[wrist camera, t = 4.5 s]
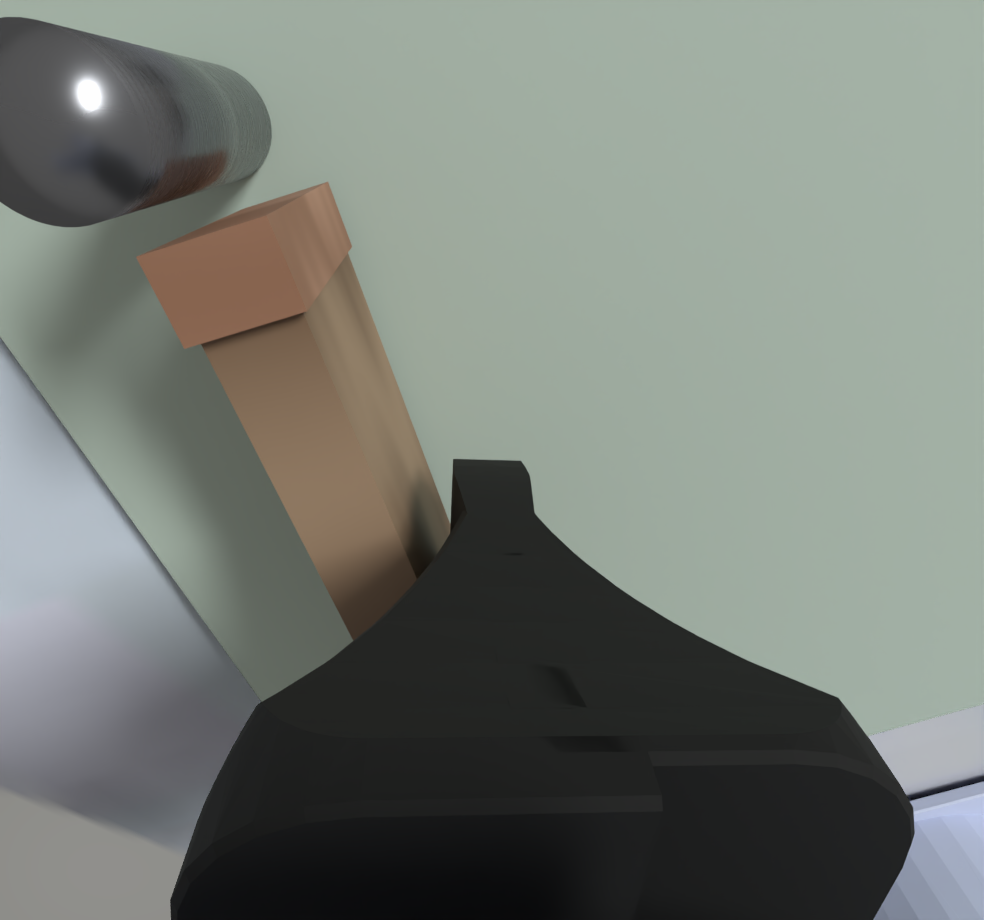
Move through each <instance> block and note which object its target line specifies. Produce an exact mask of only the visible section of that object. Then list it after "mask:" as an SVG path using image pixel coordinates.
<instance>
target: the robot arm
mask: <svg viewBox="0 0 984 920" xmlns="http://www.w3.org/2000/svg"><path fill="white" fill-rule="evenodd" d="M170 901H171V902H170V903H171V920H984V781H983V782H979V783H975V784H971V785H968V786H964V787H960V788H956V789H953V790H949V791H945V792H941V793H937V794H934V795H930V796H926V797H922V798H919V799H915V800H911V801H909V799H908V798H907V796H906V794H905V792H904V791H903V789H902V787H901V786H900V784H899V782H898V781H897V779H896V778H895V776H894V775H893V773H892V772H891V770H890V769H889V767H888V766H887V764H886V763H885V762H884V760H883V759H882V757H881V756H880V754H879V753H878V751H877V750H876V748H875V747H874V745H873V744H872V742H871V741H870V739H869V738H868V736H867V735H866V734H865V732H864V731H863V730H862V728H861V727H860V725H859V724H858V723H857V721H856V720H855V719H854V717H853V716H852V714H851V713H850V712H849V711H848V709H847V708H846V707H845V706H844V704H843V703H842V702H841V701H840V699H839V698H838V697H835V696H833V695H830V694H828V693H826V692H823V691H821V690H818V689H816V688H813V687H811V686H808V685H806V684H804V683H801V682H799V681H796V680H794V679H791V678H789V677H786V676H784V675H781V674H779V673H777V672H774V671H772V670H769V669H767V668H764V667H762V666H759V665H757V664H755V663H752V662H750V661H748V660H746V659H744V658H741V657H739V656H737V655H735V654H733V653H731V652H729V651H727V650H725V649H723V648H721V647H719V646H717V645H715V644H713V643H711V642H709V641H707V640H705V639H703V638H701V637H699V636H697V635H695V634H694V633H692V632H690V631H688V630H686V629H684V628H683V627H681V626H679V625H677V624H675V623H673V622H672V621H670V620H668V619H667V618H665V617H663V616H662V615H660V614H659V613H657V612H655V611H654V610H652V609H651V608H649V607H647V606H646V605H644V604H642V603H641V602H639V601H638V600H636V599H634V598H633V597H631V596H630V595H629V594H627V593H626V592H624V591H623V590H621V589H620V588H618V587H617V586H615V585H614V584H613V583H612V582H610V581H609V580H608V579H606V578H605V577H604V576H602V575H601V574H600V573H598V572H597V571H596V570H595V569H593V568H592V567H591V566H589V565H588V564H587V563H586V562H584V561H583V560H582V559H581V558H580V557H578V556H577V555H576V554H575V553H574V552H573V551H571V550H570V549H569V548H568V547H567V546H566V545H565V544H564V543H563V542H562V541H561V540H560V539H559V538H558V537H557V536H556V535H554V534H553V533H552V532H551V531H550V530H549V528H548V527H547V526H546V525H545V524H544V523H543V522H542V521H541V520H540V519H539V518H538V516H537V515H536V514H535V512H534V504H533V495H532V487H531V480H530V475H529V473H528V471H527V469H526V467H525V466H524V464H523V463H522V461H515V460H477V459H453V474H452V498H451V523H450V534H449V536H448V538H447V539H446V541H445V543H444V544H443V546H442V547H441V549H440V550H439V552H438V553H437V555H436V556H435V557H434V559H433V560H432V562H431V563H430V564H429V565H428V567H427V568H426V569H425V571H424V572H423V573H422V574H421V575H420V577H419V578H418V579H417V580H416V581H415V583H414V584H413V585H412V586H411V587H410V588H409V589H408V590H407V591H406V592H405V594H404V595H403V596H402V597H401V598H400V599H399V600H398V601H397V602H396V603H395V604H394V605H393V606H392V607H391V608H390V609H389V610H388V611H387V612H386V613H385V614H384V615H383V616H382V617H381V618H380V619H379V620H378V621H376V622H375V623H374V624H373V625H372V626H371V627H370V628H368V629H367V630H366V631H365V632H363V633H362V634H361V635H360V636H358V637H357V638H356V639H355V640H354V641H352V642H351V643H350V644H349V645H347V646H346V647H345V648H344V649H343V650H341V651H340V652H339V653H338V654H336V655H335V656H334V657H332V658H331V659H330V660H328V661H327V662H326V663H324V664H323V665H321V666H319V667H318V668H316V669H315V670H313V671H311V672H310V673H308V674H307V675H305V676H303V677H302V678H300V679H299V680H297V681H295V682H294V683H292V684H291V685H289V686H287V687H286V688H284V689H283V690H281V691H280V692H278V693H276V694H275V695H273V696H271V697H269V698H267V699H266V700H264V701H262V702H261V703H260V704H258V705H257V706H256V708H255V710H254V711H253V713H252V714H251V716H250V718H249V719H248V721H247V723H246V724H245V726H244V728H243V730H242V731H241V733H240V735H239V737H238V738H237V740H236V742H235V744H234V745H233V747H232V749H231V751H230V753H229V755H228V757H227V759H226V761H225V763H224V765H223V767H222V768H221V770H220V772H219V774H218V777H217V779H216V780H215V782H214V784H213V787H212V789H211V791H210V793H209V795H208V797H207V799H206V801H205V803H204V806H203V808H202V811H201V814H200V816H199V819H198V821H197V824H196V827H195V830H194V833H193V836H192V839H191V841H190V844H189V847H188V850H187V853H186V856H185V859H184V862H183V865H182V868H181V871H180V874H179V876H178V879H177V882H176V885H175V888H174V891H173V894H172V897H171V900H170Z"/></svg>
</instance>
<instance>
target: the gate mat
mask: <svg viewBox="0 0 984 920" xmlns="http://www.w3.org/2000/svg"><path fill="white" fill-rule="evenodd" d="M3 17H23V18H29V19H35V20H39V21H43V22H47V23H52V24H56V25H60V26H64V27H68V28H72V29H76V30H80V31H84V32H88V33H92V34H96V35H100V36H104V37H108V38H112V39H116V40H120V41H124V42H128V43H132V44H136V45H140V46H145V47H149V48H153V49H157V50H161V51H165V52H169V53H173V54H177V55H181V56H185V57H189V58H193V59H197V60H201V61H205V62H209V63H213V64H217V65H221V66H224V67H227V68H229V69H231V70H233V71H235V72H237V73H238V74H240V75H241V76H243V77H244V78H245V79H246V80H247V81H248V82H249V83H250V84H252V86H253V87H254V88H255V89H256V90H257V92H258V93H259V95H260V96H261V98H262V99H263V101H264V103H265V105H266V108H267V111H268V113H269V117H270V121H271V128H272V139H271V146H270V150H269V153H268V155H267V158H266V159H265V161H264V163H263V164H262V166H261V167H260V168H259V169H258V170H257V171H256V172H255V173H253V174H252V175H251V176H249V177H247V178H245V179H242V180H239V181H236V182H232V183H229V184H226V185H223V186H219V187H216V188H213V189H209V190H206V191H203V192H199V193H196V194H193V195H189V196H186V197H183V198H179V199H176V200H173V201H169V202H166V203H163V204H159V205H156V206H153V207H149V208H146V209H143V210H139V211H136V212H133V213H129V214H126V215H123V216H120V217H116V218H113V219H110V220H106V221H103V222H100V223H96V224H93V225H90V226H83V227H58V226H52V225H48V224H44V223H40V222H37V221H34V220H32V219H29V218H27V217H25V216H23V215H21V214H19V213H17V212H15V211H13V210H12V209H10V208H8V207H7V206H5V205H4V204H2V203H1V202H0V337H1V339H2V340H3V341H4V343H5V344H6V346H7V347H8V348H9V350H10V351H11V353H12V354H13V355H14V357H15V358H16V360H17V361H18V362H19V364H20V365H21V366H22V368H23V369H24V371H25V372H26V373H27V375H28V376H29V378H30V379H31V380H32V382H33V383H34V385H35V386H36V387H37V389H38V390H39V392H40V393H41V394H42V396H43V397H44V399H45V400H46V401H47V403H48V404H49V406H50V407H51V408H52V410H53V411H54V413H55V414H56V415H57V417H58V418H59V420H60V421H61V422H62V424H63V425H64V427H65V428H66V429H67V431H68V432H69V434H70V435H71V436H72V438H73V439H74V441H75V442H76V443H77V445H78V446H79V448H80V449H81V450H82V452H83V453H84V454H85V456H86V457H87V459H88V460H89V461H90V463H91V464H92V466H93V467H94V468H95V470H96V471H97V473H98V474H99V475H100V477H101V478H102V480H103V481H104V482H105V484H106V485H107V487H108V488H109V489H110V491H111V492H112V494H113V495H114V496H115V498H116V499H117V501H118V502H119V503H120V505H121V506H122V508H123V509H124V510H125V512H126V513H127V515H128V516H129V517H130V519H131V520H132V522H133V523H134V524H135V526H136V527H137V529H138V530H139V531H140V533H141V534H142V536H143V537H144V538H145V540H146V541H147V543H148V544H149V545H150V547H151V548H152V549H153V551H154V552H155V554H156V555H157V556H158V558H159V559H160V561H161V562H162V563H163V565H164V566H165V568H166V569H167V570H168V572H169V573H170V575H171V576H172V577H173V579H174V580H175V582H176V583H177V584H178V586H179V587H180V589H181V590H182V591H183V593H184V594H185V596H186V597H187V598H188V600H189V601H190V603H191V604H192V605H193V607H194V608H195V610H196V611H197V612H198V614H199V615H200V617H201V618H202V619H203V621H204V622H205V624H206V625H207V626H208V628H209V629H210V631H211V632H212V633H213V635H214V636H215V637H216V639H217V640H218V642H219V643H220V644H221V646H222V647H223V649H224V650H225V651H226V653H227V654H228V656H229V657H230V658H231V660H232V661H233V663H234V664H235V665H236V667H237V668H238V670H239V671H240V672H241V674H242V675H243V677H244V678H245V679H246V681H247V682H248V684H249V685H250V686H251V688H252V689H253V691H254V692H255V693H256V695H257V696H258V698H259V699H260V700H261V702H262V701H264V700H266V699H267V698H269V697H271V696H273V695H275V694H276V693H278V692H280V691H281V690H283V689H284V688H286V687H287V686H289V685H291V684H292V683H294V682H295V681H297V680H299V679H300V678H302V677H303V676H305V675H307V674H308V673H310V672H311V671H313V670H315V669H316V668H318V667H319V666H321V665H323V664H324V663H326V662H327V661H328V660H330V659H331V658H332V657H334V656H335V655H336V654H338V653H339V652H340V651H341V650H343V649H344V648H345V647H346V646H347V645H349V644H350V643H351V642H352V641H353V639H352V637H351V635H350V633H349V632H348V630H347V628H346V626H345V624H344V622H343V620H342V618H341V616H340V614H339V612H338V610H337V608H336V606H335V604H334V602H333V600H332V598H331V597H330V595H329V593H328V591H327V589H326V587H325V585H324V583H323V581H322V579H321V577H320V575H319V573H318V571H317V569H316V567H315V565H314V563H313V561H312V560H311V558H310V556H309V554H308V552H307V550H306V548H305V546H304V544H303V542H302V540H301V538H300V536H299V534H298V532H297V530H296V528H295V526H294V524H293V523H292V521H291V519H290V517H289V515H288V513H287V511H286V509H285V507H284V505H283V503H282V501H281V499H280V497H279V495H278V493H277V491H276V489H275V487H274V486H273V484H272V482H271V480H270V478H269V476H268V474H267V472H266V470H265V468H264V466H263V464H262V462H261V460H260V458H259V456H258V454H257V452H256V450H255V449H254V447H253V445H252V443H251V441H250V439H249V437H248V435H247V433H246V431H245V429H244V427H243V425H242V423H241V421H240V419H239V417H238V415H237V413H236V412H235V410H234V408H233V406H232V404H231V402H230V400H229V398H228V396H227V394H226V392H225V390H224V388H223V386H222V384H221V382H220V380H219V378H218V377H217V375H216V373H215V371H214V369H213V367H212V365H211V363H210V361H209V359H208V357H207V355H206V353H205V351H204V349H203V347H202V345H201V344H199V345H196V346H192V347H189V348H186V349H184V347H183V345H182V343H181V342H180V340H179V338H178V336H177V334H176V332H175V330H174V328H173V326H172V325H171V323H170V321H169V319H168V317H167V315H166V313H165V311H164V309H163V307H162V306H161V304H160V302H159V300H158V298H157V296H156V294H155V292H154V290H153V289H152V287H151V285H150V283H149V281H148V279H147V277H146V275H145V273H144V271H143V270H142V268H141V266H140V264H139V262H138V260H137V258H136V257H137V256H139V255H141V254H144V253H146V252H148V251H150V250H152V249H155V248H157V247H159V246H161V245H164V244H166V243H168V242H170V241H172V240H175V239H177V238H179V237H181V236H184V235H186V234H188V233H190V232H192V231H195V230H197V229H199V228H201V227H204V226H206V225H208V224H210V223H212V222H215V221H217V220H219V219H221V218H224V217H226V216H228V215H230V214H233V213H235V212H237V211H239V210H241V209H244V208H247V207H250V206H253V205H257V204H260V203H263V202H266V201H269V200H272V199H275V198H278V197H282V196H285V195H288V194H291V193H294V192H297V191H300V190H303V189H307V188H310V187H313V186H316V185H319V184H322V183H325V182H328V183H329V186H330V188H331V191H332V194H333V196H334V199H335V202H336V204H337V207H338V210H339V213H340V215H341V218H342V221H343V223H344V226H345V229H346V231H347V234H348V237H349V239H350V242H351V245H352V248H351V249H350V251H349V252H348V254H349V257H350V260H351V262H352V265H353V268H354V270H355V273H356V276H357V278H358V281H359V283H360V286H361V289H362V291H363V294H364V297H365V299H366V302H367V305H368V307H369V310H370V313H371V315H372V318H373V321H374V323H375V326H376V329H377V331H378V334H379V336H380V339H381V342H382V344H383V347H384V350H385V352H386V355H387V358H388V360H389V363H390V366H391V368H392V371H393V374H394V376H395V379H396V382H397V384H398V387H399V390H400V392H401V395H402V397H403V400H404V403H405V405H406V408H407V411H408V413H409V416H410V419H411V421H412V424H413V427H414V429H415V432H416V435H417V437H418V440H419V443H420V445H421V448H422V450H423V453H424V456H425V458H426V461H427V464H428V466H429V469H430V472H431V474H432V477H433V480H434V482H435V485H436V488H437V490H438V493H439V496H440V498H441V501H442V503H443V506H444V509H445V511H446V514H447V517H448V519H449V522H450V523H451V498H452V474H453V459H477V460H515V461H522V463H523V464H524V466H525V467H526V469H527V471H528V473H529V475H530V480H531V487H532V495H533V504H534V512H535V514H536V515H537V516H538V518H539V519H540V520H541V521H542V522H543V523H544V524H545V525H546V526H547V527H548V528H549V530H550V531H551V532H552V533H553V534H554V535H556V536H557V537H558V538H559V539H560V540H561V541H562V542H563V543H564V544H565V545H566V546H567V547H568V548H569V549H570V550H571V551H573V552H574V553H575V554H576V555H577V556H578V557H580V558H581V559H582V560H583V561H584V562H586V563H587V564H588V565H589V566H591V567H592V568H593V569H595V570H596V571H597V572H598V573H600V574H601V575H602V576H604V577H605V578H606V579H608V580H609V581H610V582H612V583H613V584H614V585H615V586H617V587H618V588H620V589H621V590H623V591H624V592H626V593H627V594H629V595H630V596H631V597H633V598H634V599H636V600H638V601H639V602H641V603H642V604H644V605H646V606H647V607H649V608H651V609H652V610H654V611H655V612H657V613H659V614H660V615H662V616H663V617H665V618H667V619H668V620H670V621H672V622H673V623H675V624H677V625H679V626H681V627H683V628H684V629H686V630H688V631H690V632H692V633H694V634H695V635H697V636H699V637H701V638H703V639H705V640H707V641H709V642H711V643H713V644H715V645H717V646H719V647H721V648H723V649H725V650H727V651H729V652H731V653H733V654H735V655H737V656H739V657H741V658H744V659H746V660H748V661H750V662H752V663H755V664H757V665H759V666H762V667H764V668H767V669H769V670H772V671H774V672H777V673H779V674H781V675H784V676H786V677H789V678H791V679H794V680H796V681H799V682H801V683H804V684H806V685H808V686H811V687H813V688H816V689H818V690H821V691H823V692H826V693H828V694H830V695H833V696H835V697H838V698H839V699H840V701H841V702H842V703H843V704H844V706H845V707H846V708H847V709H848V711H849V712H850V713H851V714H852V716H853V717H854V719H855V720H856V721H857V723H858V724H859V725H860V727H861V728H862V730H863V731H864V732H865V734H866V735H867V736H870V735H874V734H877V733H881V732H885V731H888V730H892V729H895V728H899V727H903V726H906V725H910V724H913V723H917V722H921V721H924V720H928V719H932V718H935V717H939V716H942V715H946V714H950V713H953V712H957V711H961V710H964V709H968V708H971V707H975V706H979V705H982V704H984V0H0V18H3Z"/></svg>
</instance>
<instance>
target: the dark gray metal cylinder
mask: <svg viewBox="0 0 984 920" xmlns="http://www.w3.org/2000/svg"><path fill="white" fill-rule="evenodd" d="M271 139H272V128H271V121H270V117H269V113H268V111H267V108H266V105H265V103H264V101H263V99H262V98H261V96H260V95H259V93H258V92H257V90H256V89H255V88H254V87H253V86H252V84H250V83H249V82H248V81H247V80H246V79H245V78H244V77H243V76H241V75H240V74H238V73H237V72H235V71H233V70H231V69H229V68H227V67H224V66H221V65H217V64H213V63H209V62H205V61H201V60H197V59H193V58H189V57H185V56H181V55H177V54H173V53H169V52H165V51H161V50H157V49H153V48H149V47H145V46H140V45H136V44H132V43H128V42H124V41H120V40H116V39H112V38H108V37H104V36H100V35H96V34H92V33H88V32H84V31H80V30H76V29H72V28H68V27H64V26H60V25H56V24H52V23H47V22H43V21H39V20H35V19H29V18H23V17H3V18H0V202H1V203H2V204H4V205H5V206H7V207H8V208H10V209H12V210H13V211H15V212H17V213H19V214H21V215H23V216H25V217H27V218H29V219H32V220H34V221H37V222H40V223H44V224H48V225H52V226H58V227H83V226H90V225H93V224H96V223H100V222H103V221H106V220H110V219H113V218H116V217H120V216H123V215H126V214H129V213H133V212H136V211H139V210H143V209H146V208H149V207H153V206H156V205H159V204H163V203H166V202H169V201H173V200H176V199H179V198H183V197H186V196H189V195H193V194H196V193H199V192H203V191H206V190H209V189H213V188H216V187H219V186H223V185H226V184H229V183H232V182H236V181H239V180H242V179H245V178H247V177H249V176H251V175H252V174H253V173H255V172H256V171H257V170H258V169H259V168H260V167H261V166H262V164H263V163H264V161H265V159H266V158H267V155H268V153H269V150H270V146H271Z"/></svg>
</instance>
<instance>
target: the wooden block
mask: <svg viewBox="0 0 984 920" xmlns="http://www.w3.org/2000/svg"><path fill="white" fill-rule="evenodd" d="M351 248H352V245H351V242H350V239H349V237H348V234H347V231H346V229H345V226H344V223H343V221H342V218H341V215H340V213H339V210H338V207H337V204H336V202H335V199H334V196H333V194H332V191H331V188H330V186H329V183H328V182H325V183H322V184H319V185H316V186H313V187H310V188H307V189H303V190H300V191H297V192H294V193H291V194H288V195H285V196H282V197H278V198H275V199H272V200H269V201H266V202H263V203H260V204H257V205H253V206H250V207H247V208H244V209H241V210H239V211H237V212H235V213H233V214H230V215H228V216H226V217H224V218H221V219H219V220H217V221H215V222H212V223H210V224H208V225H206V226H204V227H201V228H199V229H197V230H195V231H192V232H190V233H188V234H186V235H184V236H181V237H179V238H177V239H175V240H172V241H170V242H168V243H166V244H164V245H161V246H159V247H157V248H155V249H152V250H150V251H148V252H146V253H144V254H141V255H139V256H137V257H136V258H137V260H138V262H139V264H140V266H141V268H142V270H143V271H144V273H145V275H146V277H147V279H148V281H149V283H150V285H151V287H152V289H153V290H154V292H155V294H156V296H157V298H158V300H159V302H160V304H161V306H162V307H163V309H164V311H165V313H166V315H167V317H168V319H169V321H170V323H171V325H172V326H173V328H174V330H175V332H176V334H177V336H178V338H179V340H180V342H181V343H182V345H183V347H184V349H186V348H189V347H192V346H196V345H199V344H201V345H202V347H203V349H204V351H205V353H206V355H207V357H208V359H209V361H210V363H211V365H212V367H213V369H214V371H215V373H216V375H217V377H218V378H219V380H220V382H221V384H222V386H223V388H224V390H225V392H226V394H227V396H228V398H229V400H230V402H231V404H232V406H233V408H234V410H235V412H236V413H237V415H238V417H239V419H240V421H241V423H242V425H243V427H244V429H245V431H246V433H247V435H248V437H249V439H250V441H251V443H252V445H253V447H254V449H255V450H256V452H257V454H258V456H259V458H260V460H261V462H262V464H263V466H264V468H265V470H266V472H267V474H268V476H269V478H270V480H271V482H272V484H273V486H274V487H275V489H276V491H277V493H278V495H279V497H280V499H281V501H282V503H283V505H284V507H285V509H286V511H287V513H288V515H289V517H290V519H291V521H292V523H293V524H294V526H295V528H296V530H297V532H298V534H299V536H300V538H301V540H302V542H303V544H304V546H305V548H306V550H307V552H308V554H309V556H310V558H311V560H312V561H313V563H314V565H315V567H316V569H317V571H318V573H319V575H320V577H321V579H322V581H323V583H324V585H325V587H326V589H327V591H328V593H329V595H330V597H331V598H332V600H333V602H334V604H335V606H336V608H337V610H338V612H339V614H340V616H341V618H342V620H343V622H344V624H345V626H346V628H347V630H348V632H349V633H350V635H351V637H352V639H353V641H354V640H355V639H356V638H357V637H358V636H360V635H361V634H362V633H363V632H365V631H366V630H367V629H368V628H370V627H371V626H372V625H373V624H374V623H375V622H376V621H378V620H379V619H380V618H381V617H382V616H383V615H384V614H385V613H386V612H387V611H388V610H389V609H390V608H391V607H392V606H393V605H394V604H395V603H396V602H397V601H398V600H399V599H400V598H401V597H402V596H403V595H404V594H405V592H406V591H407V590H408V589H409V588H410V587H411V586H412V585H413V584H414V583H415V581H416V580H417V579H418V578H419V577H420V575H421V574H422V573H423V572H424V571H425V569H426V568H427V567H428V565H429V564H430V563H431V562H432V560H433V559H434V557H435V556H436V555H437V553H438V552H439V550H440V549H441V547H442V546H443V544H444V543H445V541H446V539H447V538H448V536H449V534H450V522H449V519H448V517H447V514H446V511H445V509H444V506H443V503H442V501H441V498H440V496H439V493H438V490H437V488H436V485H435V482H434V480H433V477H432V474H431V472H430V469H429V466H428V464H427V461H426V458H425V456H424V453H423V450H422V448H421V445H420V443H419V440H418V437H417V435H416V432H415V429H414V427H413V424H412V421H411V419H410V416H409V413H408V411H407V408H406V405H405V403H404V400H403V397H402V395H401V392H400V390H399V387H398V384H397V382H396V379H395V376H394V374H393V371H392V368H391V366H390V363H389V360H388V358H387V355H386V352H385V350H384V347H383V344H382V342H381V339H380V336H379V334H378V331H377V329H376V326H375V323H374V321H373V318H372V315H371V313H370V310H369V307H368V305H367V302H366V299H365V297H364V294H363V291H362V289H361V286H360V283H359V281H358V278H357V276H356V273H355V270H354V268H353V265H352V262H351V260H350V257H349V254H348V252H349V251H350V249H351Z"/></svg>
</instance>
